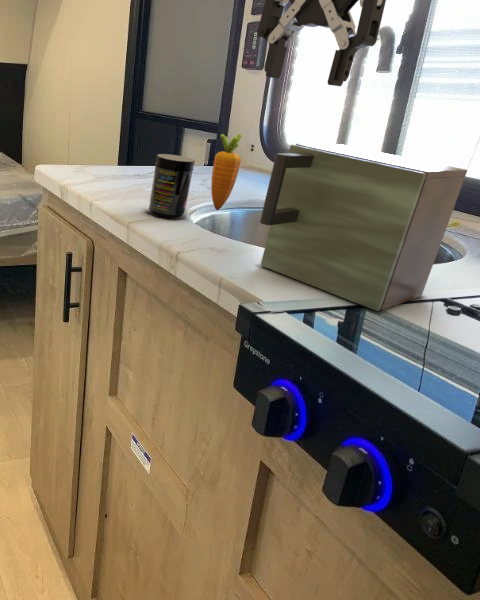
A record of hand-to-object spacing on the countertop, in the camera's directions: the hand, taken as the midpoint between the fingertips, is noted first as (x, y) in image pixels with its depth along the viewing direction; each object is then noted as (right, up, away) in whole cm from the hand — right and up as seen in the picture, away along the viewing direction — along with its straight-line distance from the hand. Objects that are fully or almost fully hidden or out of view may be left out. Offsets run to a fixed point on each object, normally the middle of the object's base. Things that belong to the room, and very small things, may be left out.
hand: (301, 81), depth 72 cm
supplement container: (-11, -11, +38) cm, 41 cm away
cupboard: (+11, -24, +13) cm, 29 cm away
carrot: (0, -9, +47) cm, 48 cm away
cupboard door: (+3, -25, +7) cm, 26 cm away
